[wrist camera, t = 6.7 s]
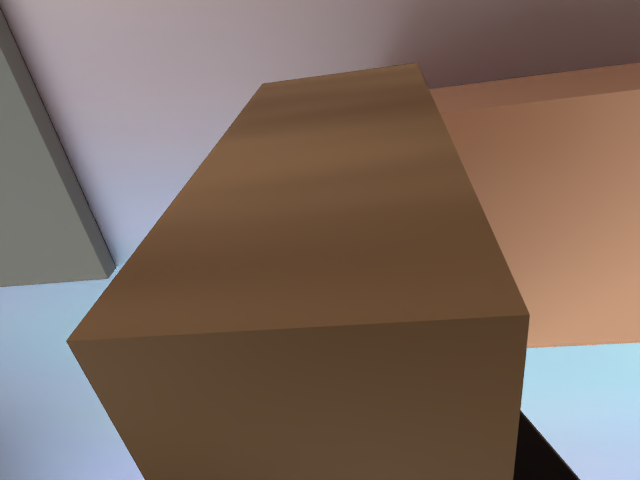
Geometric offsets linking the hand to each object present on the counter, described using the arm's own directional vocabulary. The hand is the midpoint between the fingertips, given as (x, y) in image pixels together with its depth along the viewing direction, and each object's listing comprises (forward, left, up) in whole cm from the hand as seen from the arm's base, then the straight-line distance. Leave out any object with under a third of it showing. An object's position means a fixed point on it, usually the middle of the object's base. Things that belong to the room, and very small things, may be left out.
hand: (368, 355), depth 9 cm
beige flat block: (0, 0, -5) cm, 5 cm away
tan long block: (0, 0, -1) cm, 1 cm away
